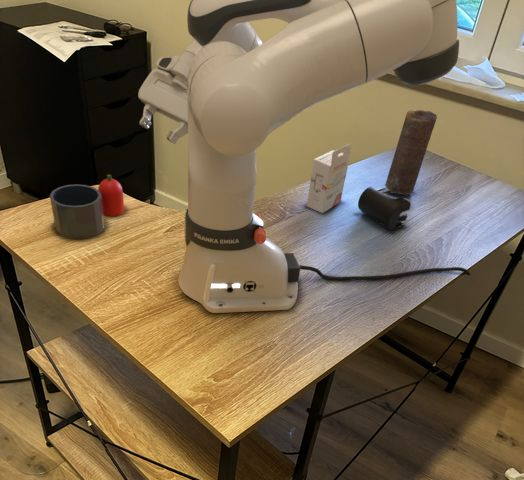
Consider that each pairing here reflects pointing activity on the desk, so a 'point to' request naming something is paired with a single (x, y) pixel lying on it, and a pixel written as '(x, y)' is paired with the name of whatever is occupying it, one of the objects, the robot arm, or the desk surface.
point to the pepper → (111, 197)
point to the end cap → (383, 207)
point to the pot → (77, 211)
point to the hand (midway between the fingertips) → (156, 133)
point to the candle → (410, 151)
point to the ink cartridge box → (328, 179)
